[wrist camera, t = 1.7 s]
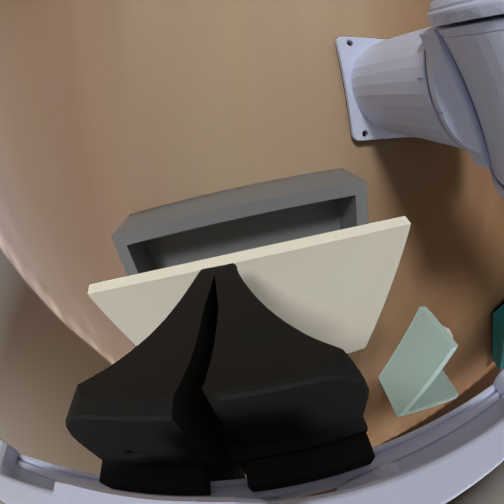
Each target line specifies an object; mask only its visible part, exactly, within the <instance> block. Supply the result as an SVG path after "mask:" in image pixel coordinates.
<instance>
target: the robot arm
mask: <svg viewBox="0 0 504 504" xmlns="http://www.w3.org/2000/svg"><path fill="white" fill-rule="evenodd" d="M429 11H430V12H428V13H427V14H426V16H427V18H428V20H429V21H430V23H431V25H433V26H432V27H428V28H425V29H421V30H417V31H414V32H410V33H407V34H404V35H401V36H397V37H394V38H391V39H388V40H383V39H373V38H359V37H339V38H337V39H336V41H335V44H336V49H337V53H338V58H339V62H340V67H341V72H342V78H343V83H344V89H345V94H346V100H347V107H348V113H349V121H350V128H351V135H352V138H353V139H354V140H357V141H365V140H376V139H388V138H403V137H417V138H421V139H426V140H430V141H434V142H438V143H442V144H446V145H450V146H453V147H457V148H460V149H464V150H467V151H468V152H469V153H470V154H471V156H472V158H473V161H474V163H475V164H476V165H479V166H481V167H484V168H487V169H489V170H491V175H492V180H493V183H494V186H495V188H496V190H497V191H498V193H499V194H500V195H501V197H502V198H503V199H504V0H434V1H432V2H430V6H429ZM347 41H349V42H350V43H351V46H349V45H347ZM363 131H365V132H366V135H365V136H363V135H362V132H363ZM368 395H369V388H368V386H367V384H366V381H365V379H364V377H363V376H362V374H361V372H360V371H359V369H358V368H357V367H356V365H355V364H354V362H353V361H352V360H351V358H350V357H349V356H348V355H347V354H346V352H345V351H344V350H343V349H341V348H338V347H336V346H333V345H330V344H328V343H325V342H322V341H320V340H317V339H315V338H312V337H310V336H308V335H306V334H304V333H303V332H301V331H299V330H298V329H296V328H294V327H293V326H291V325H290V324H288V323H286V322H285V321H283V320H282V319H281V318H279V317H278V316H277V315H275V314H274V313H273V312H272V311H271V310H269V309H268V308H267V307H266V306H265V305H264V304H263V303H262V302H261V301H260V300H259V299H258V298H257V297H256V296H255V295H254V294H253V293H252V291H251V290H250V289H249V288H248V286H247V285H246V284H245V282H244V281H243V279H242V278H241V276H240V274H239V272H238V270H237V266H236V265H235V264H234V263H231V264H226V265H221V266H216V267H211V268H206V269H201V270H200V272H199V273H198V275H197V276H196V278H195V279H194V281H193V282H192V284H191V285H190V287H189V288H188V290H187V291H186V293H185V294H184V295H183V297H182V298H181V300H180V301H179V302H178V304H177V305H176V306H175V307H174V309H173V310H172V311H171V312H170V314H169V315H168V316H167V317H166V318H165V320H164V321H163V322H162V323H161V324H160V325H159V326H158V327H157V328H156V329H155V330H154V331H153V332H152V333H151V334H150V335H149V336H148V337H147V338H146V339H145V340H143V341H142V342H141V343H140V344H139V345H138V346H136V347H135V348H134V349H133V350H132V351H131V352H129V353H128V354H127V355H125V356H124V357H123V358H121V359H120V360H119V361H117V362H116V363H114V364H113V365H111V366H110V367H109V368H107V369H105V370H104V371H102V372H100V373H98V374H97V375H95V376H93V377H91V378H90V379H88V380H86V381H84V382H82V383H80V384H78V386H77V388H76V391H75V394H74V397H73V400H72V403H71V406H70V409H69V412H68V415H67V418H66V427H67V429H68V430H69V432H70V433H71V435H72V436H73V437H74V438H75V439H76V440H77V441H78V442H79V443H81V444H82V445H83V446H84V447H86V448H87V449H88V450H90V451H91V452H92V453H93V454H95V455H96V456H98V457H99V458H101V459H102V460H103V461H102V467H101V473H100V475H99V474H94V473H89V472H84V471H78V470H74V469H70V468H66V467H62V466H58V465H55V464H51V463H48V462H44V461H41V460H38V459H35V458H32V457H29V456H26V455H23V454H20V453H18V451H17V450H16V449H14V448H13V447H12V446H11V445H9V444H8V443H6V442H5V441H3V440H1V439H0V500H2V501H3V502H5V503H6V504H445V503H447V502H449V501H450V500H452V499H453V498H455V497H456V496H458V495H459V494H461V493H462V492H464V491H465V490H467V489H468V488H469V487H471V486H472V485H474V484H475V483H476V482H478V481H479V480H480V479H482V478H483V477H484V476H485V475H487V474H488V473H489V472H491V471H492V470H493V469H494V468H495V467H496V466H498V465H499V464H500V463H501V462H502V461H504V368H503V369H502V370H501V372H500V373H499V374H498V376H497V378H496V379H495V381H494V383H493V385H491V386H490V387H489V388H487V389H486V390H484V391H483V392H481V393H480V394H478V395H477V396H475V397H474V398H472V399H471V400H469V401H467V402H466V403H465V404H463V405H461V406H459V407H458V408H456V409H454V410H453V411H451V412H449V413H447V414H445V415H444V416H442V417H440V418H438V419H436V420H435V421H433V422H431V423H429V424H427V425H425V426H423V427H421V428H419V429H417V430H415V431H412V432H410V433H408V434H406V435H404V436H401V437H399V438H397V439H394V440H392V441H389V442H387V443H384V444H382V445H379V446H377V447H374V448H372V446H371V444H370V441H369V439H368V436H367V434H366V432H367V430H368V429H367V425H366V422H365V420H364V417H363V414H364V410H365V407H366V403H367V400H368ZM245 474H246V475H247V478H245ZM337 487H338V488H337ZM333 488H337V491H336V492H331V493H326V494H321V495H316V496H311V497H305V498H298V499H291V500H285V499H290V498H295V497H300V496H305V495H309V494H314V493H317V492H321V491H325V490H329V489H333ZM279 500H283V501H279ZM272 501H274V502H272Z"/></svg>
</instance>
